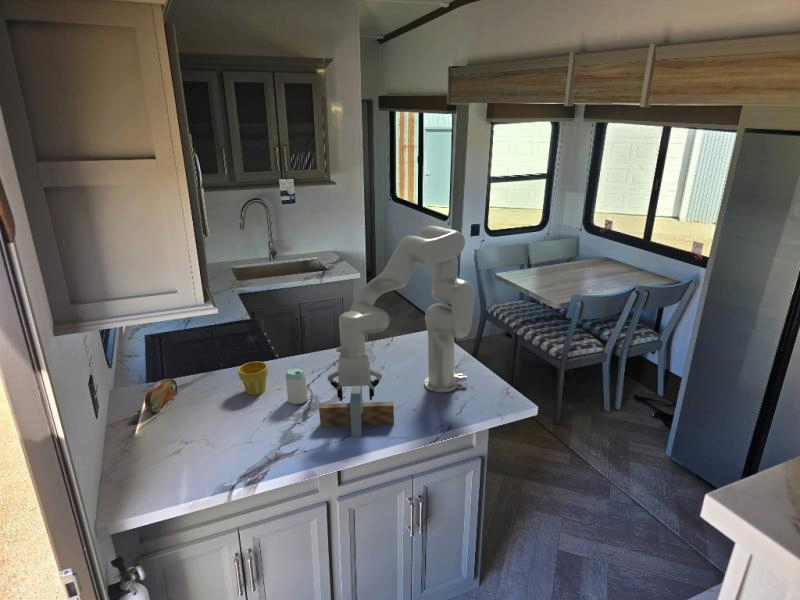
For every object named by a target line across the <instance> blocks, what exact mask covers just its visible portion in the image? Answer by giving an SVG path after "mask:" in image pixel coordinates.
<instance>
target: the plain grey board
mask: <svg viewBox="0 0 800 600" xmlns="http://www.w3.org/2000/svg"><path fill="white" fill-rule="evenodd" d="M362 387H363V386H351V389H350V397H349V403H350V417H351V426H350V429H351V430H350V431H351V438H353V439H354V438H362V433H363V432H362V431H363V425H362V412H363V407H362V406H363V403H364V402H363V388H362Z"/></svg>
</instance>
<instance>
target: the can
mask: <svg viewBox="0 0 800 600" xmlns="http://www.w3.org/2000/svg"><path fill="white" fill-rule="evenodd" d="M285 381H286V382H285V383H286V393H287V401H288V403H290V404H292V405H302V404H305V403H306V402H307V401H308V400H309V395H308V394H309V393H308V392H309V391H308V383H307V382H308V381H307V373H306V371H304V368H303V367H302V366H301V367H300V366H293V367H290V368H289V369H287V370H286V374H285Z"/></svg>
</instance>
